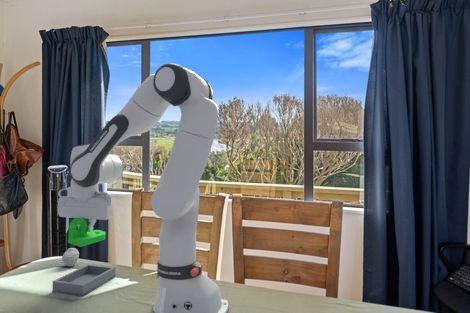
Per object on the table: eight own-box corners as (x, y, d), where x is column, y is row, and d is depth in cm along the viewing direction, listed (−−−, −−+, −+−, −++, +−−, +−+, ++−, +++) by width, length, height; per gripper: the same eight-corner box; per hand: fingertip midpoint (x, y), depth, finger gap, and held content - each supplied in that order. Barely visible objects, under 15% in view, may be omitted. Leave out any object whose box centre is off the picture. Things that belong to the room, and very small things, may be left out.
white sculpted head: (82, 263, 140) (82, 246, 140) (71, 269, 134) (71, 251, 133) (69, 262, 141) (69, 245, 141) (57, 268, 135) (57, 250, 134)
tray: (115, 276, 126) (115, 267, 126) (83, 296, 110) (82, 285, 110) (88, 273, 130) (87, 264, 130) (52, 291, 114) (52, 281, 113)
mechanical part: (80, 247, 112) (81, 222, 111) (67, 242, 114) (69, 219, 114) (108, 238, 123) (110, 216, 122) (96, 234, 125) (98, 213, 125)
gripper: (116, 191, 119) (117, 230, 119) (67, 189, 125) (68, 226, 125) (104, 193, 113) (105, 235, 113) (54, 191, 118) (54, 231, 119)
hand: (85, 230), depth 119 cm, fingers closed on mechanical part, 2 cm apart
